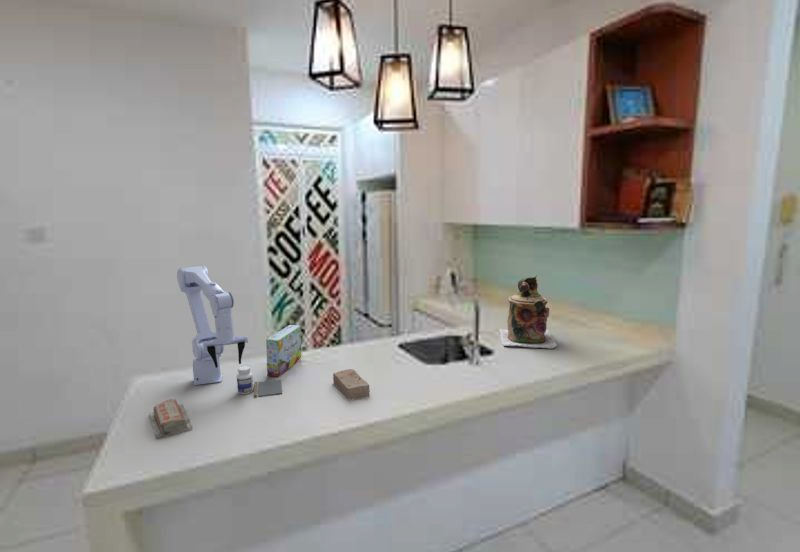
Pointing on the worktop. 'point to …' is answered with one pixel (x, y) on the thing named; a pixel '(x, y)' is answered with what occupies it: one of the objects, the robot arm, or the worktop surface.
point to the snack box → (283, 350)
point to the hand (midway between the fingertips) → (228, 364)
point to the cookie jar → (527, 318)
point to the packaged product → (169, 419)
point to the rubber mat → (270, 388)
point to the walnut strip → (255, 389)
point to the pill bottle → (244, 380)
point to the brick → (351, 384)
